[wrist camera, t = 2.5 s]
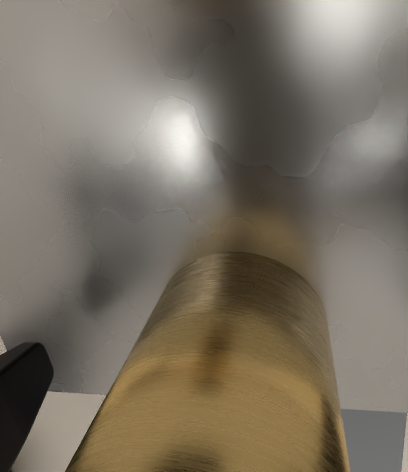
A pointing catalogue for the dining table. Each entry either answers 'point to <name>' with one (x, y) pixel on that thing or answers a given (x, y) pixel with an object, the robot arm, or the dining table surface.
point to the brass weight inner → (224, 379)
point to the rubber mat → (374, 440)
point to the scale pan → (203, 170)
